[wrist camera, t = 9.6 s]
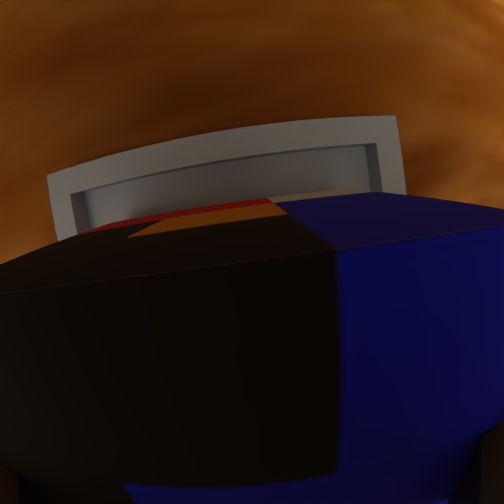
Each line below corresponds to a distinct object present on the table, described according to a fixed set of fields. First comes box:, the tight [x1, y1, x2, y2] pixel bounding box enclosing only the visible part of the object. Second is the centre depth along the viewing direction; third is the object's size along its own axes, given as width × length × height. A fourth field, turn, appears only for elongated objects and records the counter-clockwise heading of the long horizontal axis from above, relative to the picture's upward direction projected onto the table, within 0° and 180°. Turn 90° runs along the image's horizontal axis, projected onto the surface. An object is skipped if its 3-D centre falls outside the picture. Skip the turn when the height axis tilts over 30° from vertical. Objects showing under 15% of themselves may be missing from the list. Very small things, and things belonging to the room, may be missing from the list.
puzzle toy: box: [0, 189, 504, 504], centre depth 9 cm, size 10×10×10 cm
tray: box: [47, 116, 406, 241], centre depth 15 cm, size 16×16×2 cm
